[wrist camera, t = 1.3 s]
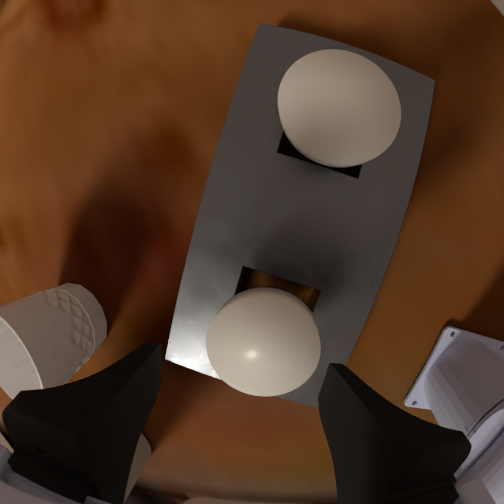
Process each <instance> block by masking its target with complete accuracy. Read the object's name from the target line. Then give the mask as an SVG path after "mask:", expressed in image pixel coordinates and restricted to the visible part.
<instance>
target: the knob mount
mask: <svg viewBox="0 0 504 504" xmlns="http://www.w3.org/2000/svg"><path fill="white" fill-rule="evenodd" d="M327 49H339V50H345V51H350V52H353V53H356V54H359V55H361V56H363V57H365V58H367V59H369V60H370V61H372V62H373V63H375V64H376V65H377V66H378V67H379V68H380V69H382V70H383V72H384V73H385V74H386V75H387V76H388V77H389V79H390V80H391V82H392V83H393V85H394V87H395V89H396V91H397V94H398V97H399V101H400V106H401V121H400V127H399V130H398V133H397V135H396V137H395V139H394V140H393V142H392V143H391V145H390V146H389V147H388V148H387V149H386V150H385V151H384V152H383V153H382V154H380V155H379V156H377V157H375V158H374V159H372V160H369V161H367V162H365V163H362V164H360V165H356V166H353V169H352V173H351V176H348V175H345V174H342V173H339V172H336V171H333V170H331V169H328V168H325V167H321V166H318V165H315V164H312V163H309V162H306V161H303V160H299V159H296V158H293V157H290V156H286V155H283V154H280V153H281V150H282V146H283V143H284V140H285V136H286V134H285V132H284V130H283V127H282V124H281V121H280V116H279V110H278V91H279V87H280V83H281V81H282V78H283V77H284V75H285V73H286V72H287V70H288V69H289V68H290V67H291V66H292V65H293V64H294V63H295V62H296V61H297V60H299V59H300V58H302V57H304V56H306V55H308V54H310V53H313V52H316V51H320V50H327ZM434 85H435V80H433V79H431V78H429V77H427V76H425V75H423V74H421V73H419V72H417V71H414V70H412V69H410V68H408V67H405V66H403V65H401V64H399V63H396V62H394V61H391V60H389V59H386V58H384V57H381V56H379V55H376V54H373V53H371V52H368V51H365V50H362V49H360V48H357V47H354V46H351V45H348V44H344V43H341V42H338V41H335V40H331V39H328V38H324V37H321V36H317V35H313V34H309V33H305V32H301V31H297V30H292V29H288V28H283V27H278V26H273V25H268V24H262V23H259V26H258V28H257V31H256V33H255V36H254V39H253V41H252V44H251V47H250V50H249V52H248V55H247V58H246V61H245V63H244V66H243V69H242V72H241V75H240V78H239V81H238V83H237V86H236V89H235V92H234V95H233V98H232V101H231V104H230V107H229V110H228V114H227V117H226V120H225V123H224V126H223V129H222V132H221V136H220V139H219V142H218V145H217V149H216V152H215V155H214V159H213V162H212V166H211V169H210V173H209V176H208V179H207V183H206V187H205V190H204V194H203V197H202V201H201V205H200V208H199V212H198V216H197V220H196V224H195V227H194V231H193V235H192V239H191V243H190V247H189V251H188V255H187V259H186V264H185V268H184V272H183V276H182V281H181V285H180V289H179V294H178V298H177V303H176V307H175V312H174V317H173V321H172V326H171V331H170V336H169V341H168V346H167V351H166V357H165V359H167V360H169V361H172V362H174V363H177V364H179V365H182V366H185V367H187V368H190V369H193V370H195V371H198V372H201V373H203V374H206V375H209V376H212V377H215V378H218V379H221V378H220V377H219V376H218V375H217V373H216V372H215V371H214V369H213V367H212V366H211V364H210V361H209V359H208V355H207V350H206V338H207V333H208V330H209V327H210V325H211V323H212V322H213V320H214V318H215V317H216V315H217V314H218V312H219V310H220V309H221V308H222V306H223V305H224V304H225V303H226V302H227V301H228V300H229V299H230V298H232V297H233V296H235V295H237V294H238V293H239V289H240V286H241V283H242V279H243V276H244V273H245V269H246V267H249V268H252V269H255V270H258V271H261V272H265V273H268V274H271V275H274V276H277V277H280V278H284V279H287V280H290V281H293V282H296V283H299V284H303V285H306V286H309V287H312V288H314V289H313V292H312V294H311V297H310V300H309V302H308V305H307V307H308V308H309V309H310V311H311V312H312V314H313V316H314V318H315V320H316V323H317V326H318V331H319V338H320V345H321V352H320V358H319V362H318V365H317V367H316V369H315V371H314V373H313V374H312V375H311V376H310V378H309V379H308V380H307V381H306V382H305V383H303V384H302V385H301V386H300V387H298V388H296V389H294V390H292V391H290V392H288V393H285V394H281V395H276V397H280V398H284V399H288V400H291V401H295V402H299V403H303V404H308V405H312V406H316V407H319V405H318V395H319V392H320V390H321V387H322V384H323V381H324V378H325V375H326V372H327V369H328V366H329V363H341V364H344V365H346V363H347V361H348V359H349V357H350V354H351V352H352V350H353V348H354V346H355V344H356V342H357V340H358V337H359V335H360V333H361V331H362V329H363V326H364V324H365V322H366V320H367V317H368V315H369V313H370V310H371V308H372V305H373V303H374V301H375V298H376V296H377V293H378V291H379V288H380V286H381V283H382V280H383V278H384V275H385V273H386V270H387V267H388V264H389V262H390V259H391V256H392V253H393V250H394V248H395V245H396V242H397V239H398V236H399V233H400V230H401V226H402V223H403V220H404V217H405V214H406V210H407V207H408V204H409V200H410V197H411V193H412V190H413V186H414V182H415V178H416V175H417V171H418V167H419V163H420V158H421V154H422V150H423V145H424V141H425V136H426V131H427V126H428V121H429V116H430V110H431V104H432V98H433V92H434ZM221 380H222V379H221Z"/></svg>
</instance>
